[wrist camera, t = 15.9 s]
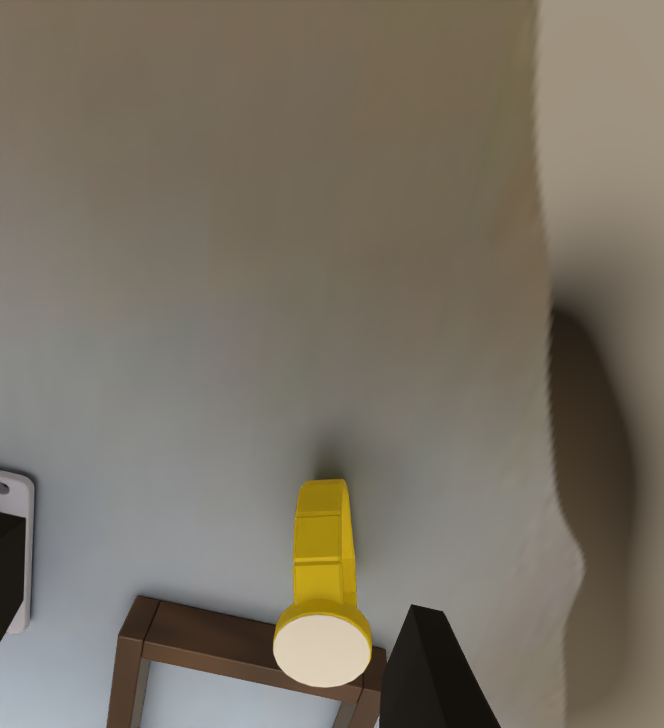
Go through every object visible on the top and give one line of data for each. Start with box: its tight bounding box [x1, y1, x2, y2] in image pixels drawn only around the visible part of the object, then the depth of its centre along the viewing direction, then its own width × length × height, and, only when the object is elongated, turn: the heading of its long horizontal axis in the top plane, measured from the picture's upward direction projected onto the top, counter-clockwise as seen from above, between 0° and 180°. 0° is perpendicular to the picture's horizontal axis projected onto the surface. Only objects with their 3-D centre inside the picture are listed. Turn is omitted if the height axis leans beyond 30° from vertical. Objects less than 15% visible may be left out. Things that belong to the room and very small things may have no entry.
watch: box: [273, 479, 372, 688], centre depth 19 cm, size 6×3×6 cm, turn 6°
